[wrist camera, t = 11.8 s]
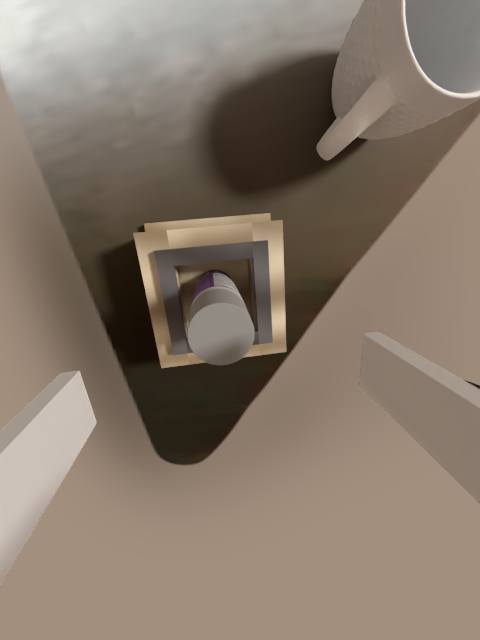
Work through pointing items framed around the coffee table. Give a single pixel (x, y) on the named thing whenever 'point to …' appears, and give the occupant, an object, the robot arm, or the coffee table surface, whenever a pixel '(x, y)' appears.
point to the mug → (403, 69)
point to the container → (219, 320)
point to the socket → (204, 255)
